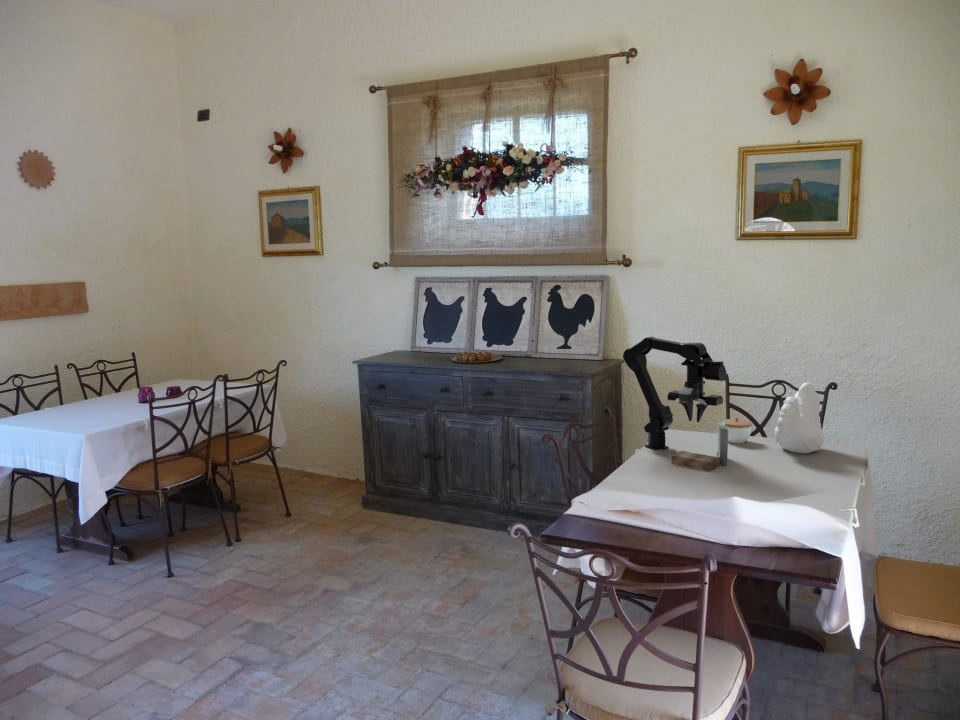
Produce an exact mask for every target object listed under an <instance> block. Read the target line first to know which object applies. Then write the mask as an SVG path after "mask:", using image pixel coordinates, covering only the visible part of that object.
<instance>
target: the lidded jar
mask: <svg viewBox="0 0 960 720" xmlns="http://www.w3.org/2000/svg"><path fill="white" fill-rule="evenodd" d="M721 422H724V423H725V425H726V428H727V430H728V443H730V444H735V445H736V443H737V444H738V445H739V444H740V443H742V444H745V443H746V441H747V440H749V438H750V436H751V433H752V426H753V423H752V421H750V420H746V419H741V418H739V417H735V418H729V419H728V418H727V419H723V420H721ZM740 445H741V444H740Z"/></svg>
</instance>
